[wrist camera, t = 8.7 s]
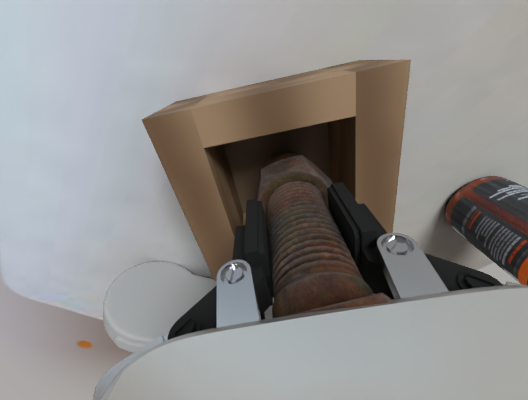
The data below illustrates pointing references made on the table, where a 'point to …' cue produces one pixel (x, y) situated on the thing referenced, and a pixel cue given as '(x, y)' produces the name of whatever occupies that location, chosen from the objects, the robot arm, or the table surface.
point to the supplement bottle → (494, 221)
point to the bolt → (307, 241)
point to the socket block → (283, 143)
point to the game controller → (151, 302)
